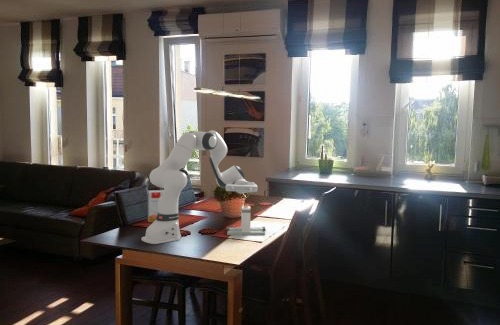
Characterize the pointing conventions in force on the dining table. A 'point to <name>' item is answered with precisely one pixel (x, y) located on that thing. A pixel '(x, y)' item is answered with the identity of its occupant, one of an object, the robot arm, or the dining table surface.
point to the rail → (250, 229)
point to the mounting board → (245, 233)
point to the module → (245, 218)
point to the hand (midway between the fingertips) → (241, 189)
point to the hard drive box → (153, 203)
